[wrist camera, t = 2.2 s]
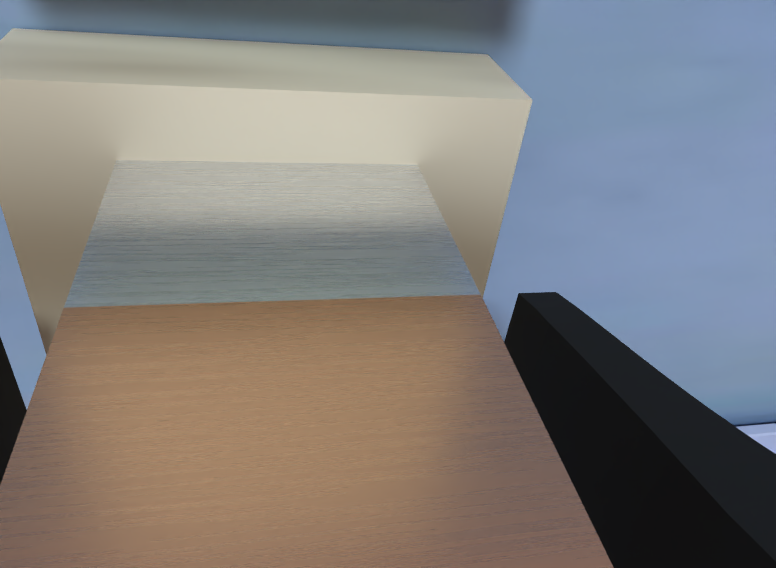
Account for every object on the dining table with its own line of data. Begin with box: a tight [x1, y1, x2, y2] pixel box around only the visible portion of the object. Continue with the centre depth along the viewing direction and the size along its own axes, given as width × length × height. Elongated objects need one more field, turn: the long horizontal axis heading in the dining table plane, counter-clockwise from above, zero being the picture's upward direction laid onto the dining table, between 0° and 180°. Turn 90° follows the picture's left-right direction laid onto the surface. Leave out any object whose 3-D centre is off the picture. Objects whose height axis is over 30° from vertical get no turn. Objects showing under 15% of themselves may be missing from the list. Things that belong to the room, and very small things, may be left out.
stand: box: [0, 28, 532, 354], centre depth 11 cm, size 7×7×2 cm
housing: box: [0, 160, 614, 568], centre depth 7 cm, size 5×4×6 cm
